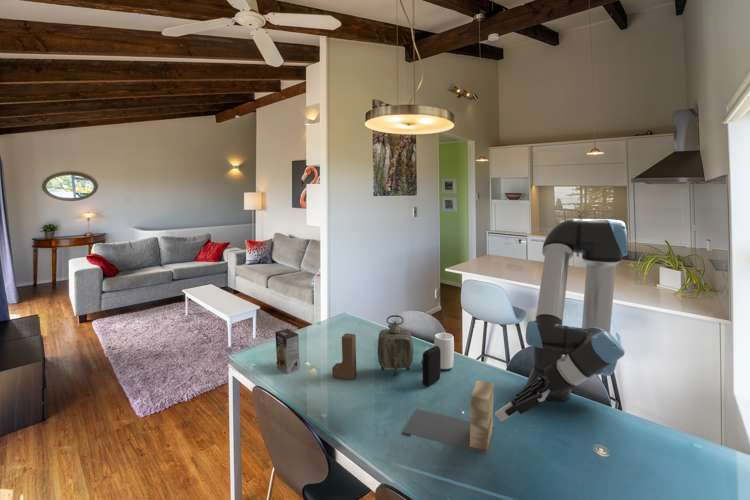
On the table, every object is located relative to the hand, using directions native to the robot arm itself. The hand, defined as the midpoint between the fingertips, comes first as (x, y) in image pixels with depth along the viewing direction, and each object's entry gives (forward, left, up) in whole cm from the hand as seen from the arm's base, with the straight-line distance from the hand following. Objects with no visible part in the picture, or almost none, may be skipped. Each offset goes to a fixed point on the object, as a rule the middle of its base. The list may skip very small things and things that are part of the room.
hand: (498, 416), depth 113 cm
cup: (+28, -43, -9) cm, 52 cm away
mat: (+15, -1, -9) cm, 17 cm away
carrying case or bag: (+29, -27, -9) cm, 41 cm away
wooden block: (+63, -19, -9) cm, 66 cm away
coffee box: (+89, -16, -9) cm, 91 cm away
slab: (+5, 0, -9) cm, 10 cm away
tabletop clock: (+45, -30, -9) cm, 55 cm away
